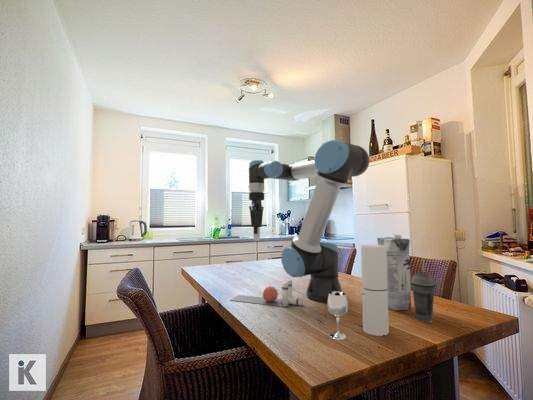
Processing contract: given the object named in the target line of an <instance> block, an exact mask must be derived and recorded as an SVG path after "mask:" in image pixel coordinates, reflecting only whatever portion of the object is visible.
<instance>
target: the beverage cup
mask: <svg viewBox="0 0 533 400" xmlns="http://www.w3.org/2000/svg"><path fill="white" fill-rule="evenodd" d="M410 286H411V290H412V296H413V304H414V312H415V318H417V319H418V320H417V319H416V320H417V321H419V320H420V321H419V322H422V321H424V322H423V323H431V322H430V321H432V322H433V316H434V298H435V296H434V295H435V291H436V286H437V285H436V281H435V279H434V277H433V276H432V275H431V274H430V273H429V272H426V271H425V258H422V271H417V272H416V273H414V274H413V275H412V277H411V278H410Z"/></svg>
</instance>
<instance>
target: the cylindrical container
mask: <svg viewBox="0 0 533 400" xmlns="http://www.w3.org/2000/svg"><path fill="white" fill-rule="evenodd" d="M360 249H361V250H360V252H361V253H360V254H361V255H360V256H361V259H360V261H361V291H362V293H361V296H362V299H361V301H362V330H363V332H365V333H367V334H369V335H371V336H378V337H381V336H382V337H383V335H385V336H387V335H389V334H388V333H389V332H390V328H389V326H390V325H389V308H388V289H387V253H386V246H381V245H378V244H363V245H360Z"/></svg>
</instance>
